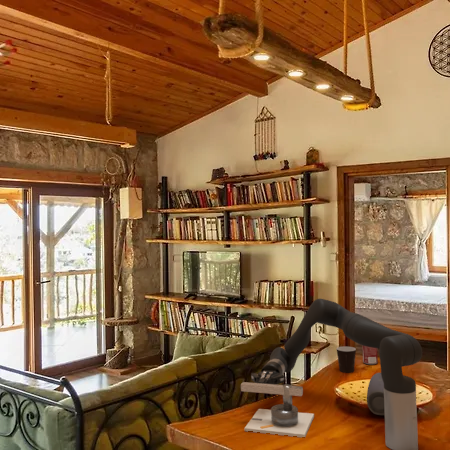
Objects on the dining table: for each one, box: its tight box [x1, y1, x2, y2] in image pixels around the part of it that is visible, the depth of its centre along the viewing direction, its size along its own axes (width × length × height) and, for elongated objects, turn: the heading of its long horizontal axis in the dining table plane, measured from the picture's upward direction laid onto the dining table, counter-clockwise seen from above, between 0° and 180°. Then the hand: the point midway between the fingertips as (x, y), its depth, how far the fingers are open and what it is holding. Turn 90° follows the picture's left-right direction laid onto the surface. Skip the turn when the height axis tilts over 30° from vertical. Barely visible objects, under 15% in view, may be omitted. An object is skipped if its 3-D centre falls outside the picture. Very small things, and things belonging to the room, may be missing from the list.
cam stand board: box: [244, 408, 315, 438], centre depth 172 cm, size 20×18×1 cm
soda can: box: [361, 345, 379, 366], centre depth 241 cm, size 7×7×12 cm
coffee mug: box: [336, 346, 357, 374], centre depth 229 cm, size 12×9×10 cm
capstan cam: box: [240, 381, 304, 426], centre depth 172 cm, size 21×9×12 cm, turn 71°
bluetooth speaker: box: [366, 372, 385, 416], centre depth 185 cm, size 23×9×10 cm, turn 161°
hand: (261, 385), depth 177 cm, fingers closed
